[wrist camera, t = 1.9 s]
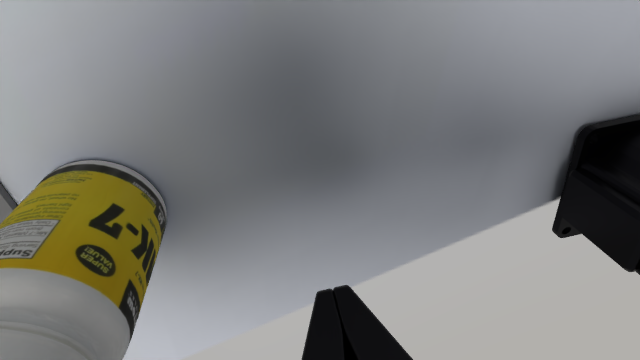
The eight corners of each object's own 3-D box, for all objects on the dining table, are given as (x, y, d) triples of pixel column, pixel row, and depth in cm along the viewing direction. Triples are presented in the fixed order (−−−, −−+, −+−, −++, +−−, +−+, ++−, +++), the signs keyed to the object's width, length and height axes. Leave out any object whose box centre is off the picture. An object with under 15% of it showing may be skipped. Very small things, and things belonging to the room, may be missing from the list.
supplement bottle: (187, 235, 16) (138, 453, 9) (82, 263, 16) (-49, 506, 9) (135, 141, 13) (12, 344, 6) (10, 174, 13) (-257, 418, 6)
